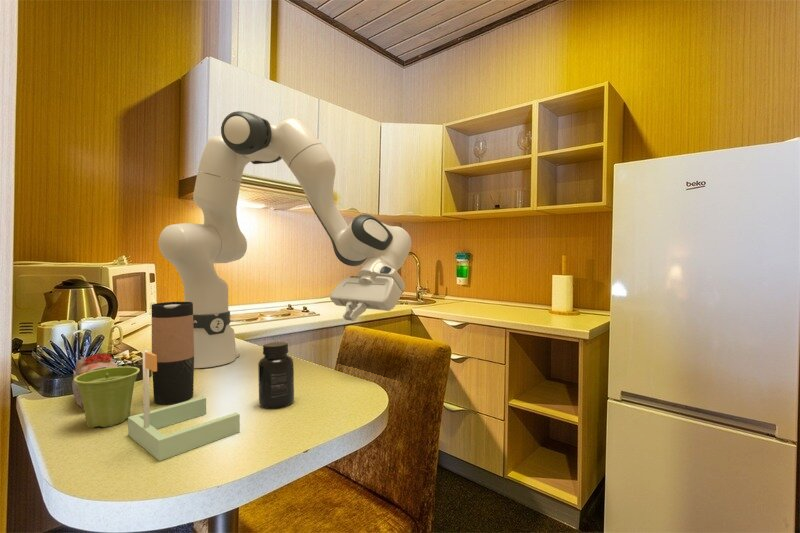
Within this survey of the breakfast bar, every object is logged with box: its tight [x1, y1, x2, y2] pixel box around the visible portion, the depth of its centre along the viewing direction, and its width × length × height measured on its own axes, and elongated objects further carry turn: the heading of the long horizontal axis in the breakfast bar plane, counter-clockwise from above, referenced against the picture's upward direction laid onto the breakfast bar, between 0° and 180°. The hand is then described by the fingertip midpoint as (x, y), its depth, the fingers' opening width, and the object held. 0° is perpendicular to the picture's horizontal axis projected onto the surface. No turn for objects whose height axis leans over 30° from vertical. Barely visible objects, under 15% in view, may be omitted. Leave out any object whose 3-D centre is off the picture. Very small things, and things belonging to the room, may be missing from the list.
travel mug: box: [151, 301, 195, 406], centre depth 81 cm, size 8×8×20 cm
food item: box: [71, 352, 120, 410], centre depth 80 cm, size 14×8×10 cm, turn 45°
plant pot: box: [74, 366, 140, 428], centre depth 70 cm, size 9×9×9 cm
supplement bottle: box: [257, 341, 295, 409], centre depth 78 cm, size 7×7×12 cm
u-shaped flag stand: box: [127, 349, 241, 462], centre depth 65 cm, size 13×12×15 cm
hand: (348, 319), depth 94 cm, fingers closed
